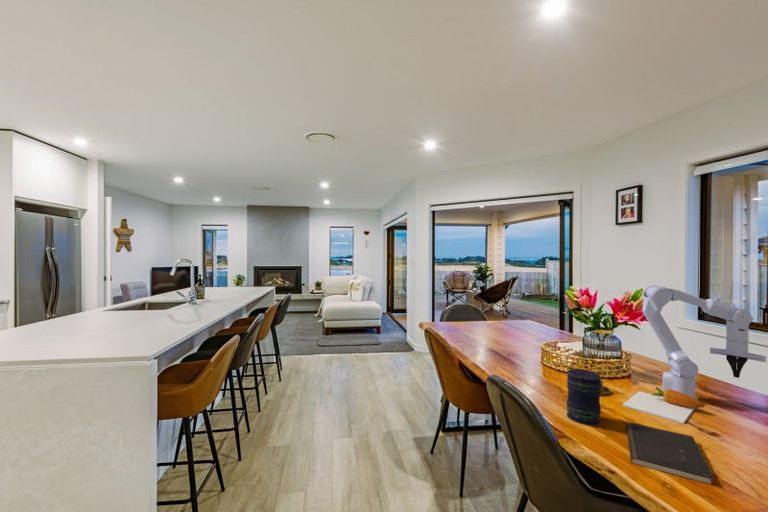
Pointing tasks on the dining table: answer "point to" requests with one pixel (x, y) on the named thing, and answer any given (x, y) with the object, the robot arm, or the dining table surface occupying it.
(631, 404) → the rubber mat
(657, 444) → the hardcover book
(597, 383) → the storage jar
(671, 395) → the carrot
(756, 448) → the dining table surface
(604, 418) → the dining table surface
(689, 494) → the dining table surface
